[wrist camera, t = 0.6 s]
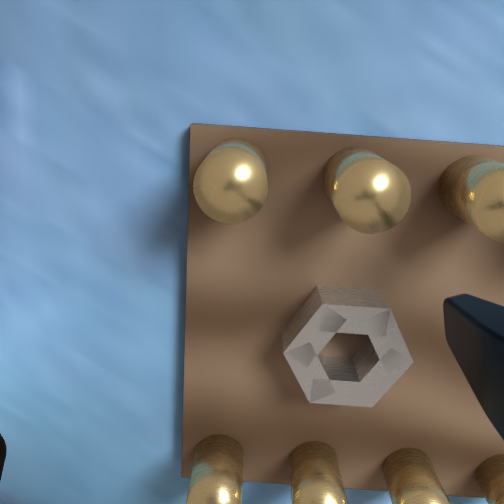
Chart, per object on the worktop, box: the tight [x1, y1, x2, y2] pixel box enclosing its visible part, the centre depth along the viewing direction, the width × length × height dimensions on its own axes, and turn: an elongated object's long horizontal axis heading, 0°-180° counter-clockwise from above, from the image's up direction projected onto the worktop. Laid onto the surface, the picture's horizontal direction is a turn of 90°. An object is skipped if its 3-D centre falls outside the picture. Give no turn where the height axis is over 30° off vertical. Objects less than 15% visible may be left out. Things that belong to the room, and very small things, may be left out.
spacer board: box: [181, 123, 504, 498], centre depth 23 cm, size 19×20×1 cm
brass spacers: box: [186, 138, 504, 504], centre depth 21 cm, size 18×18×4 cm
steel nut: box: [281, 285, 414, 407], centre depth 22 cm, size 5×6×2 cm
